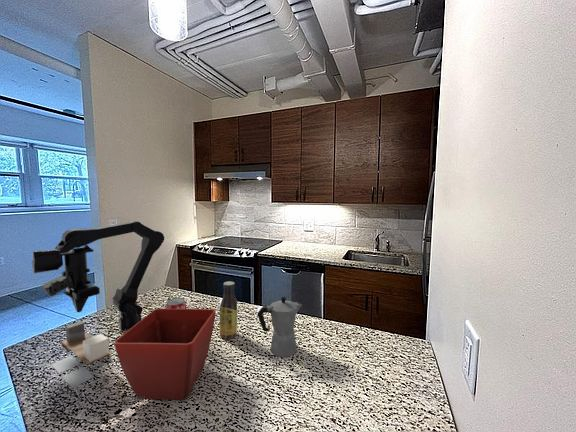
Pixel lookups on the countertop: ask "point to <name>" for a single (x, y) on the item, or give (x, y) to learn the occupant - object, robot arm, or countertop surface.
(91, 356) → the cube
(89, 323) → the countertop surface
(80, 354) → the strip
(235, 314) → the sauce bottle
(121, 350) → the plant pot
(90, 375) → the broken strip
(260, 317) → the coffeepot
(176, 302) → the soda can
